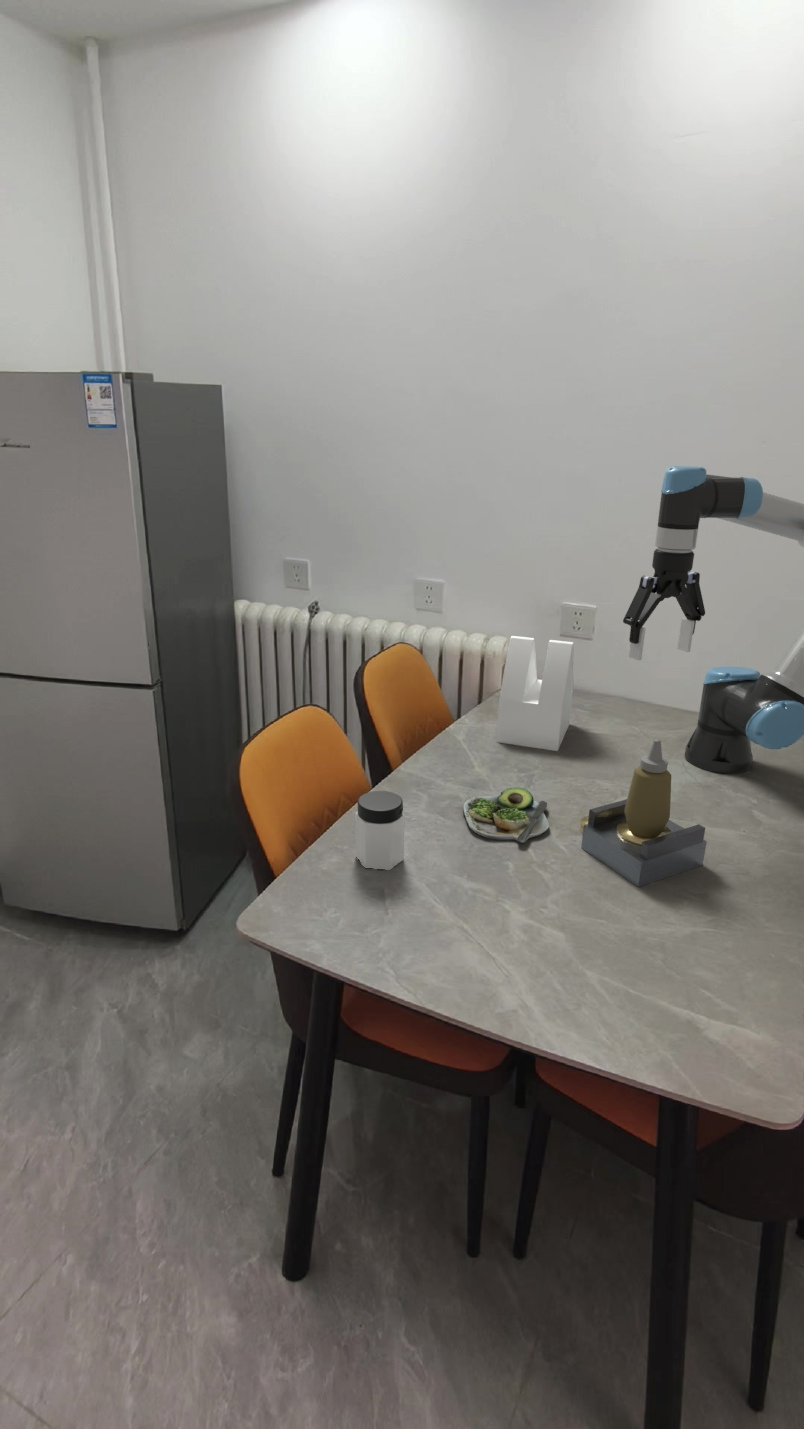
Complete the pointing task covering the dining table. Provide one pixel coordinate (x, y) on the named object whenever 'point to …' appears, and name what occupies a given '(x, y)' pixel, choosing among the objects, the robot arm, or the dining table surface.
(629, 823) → the squeeze bottle
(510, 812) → the avocado toast plate
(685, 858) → the grey rimmed block
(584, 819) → the brass dome knob
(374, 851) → the jar
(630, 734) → the dining table surface
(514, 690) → the white notched stand
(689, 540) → the robot arm
